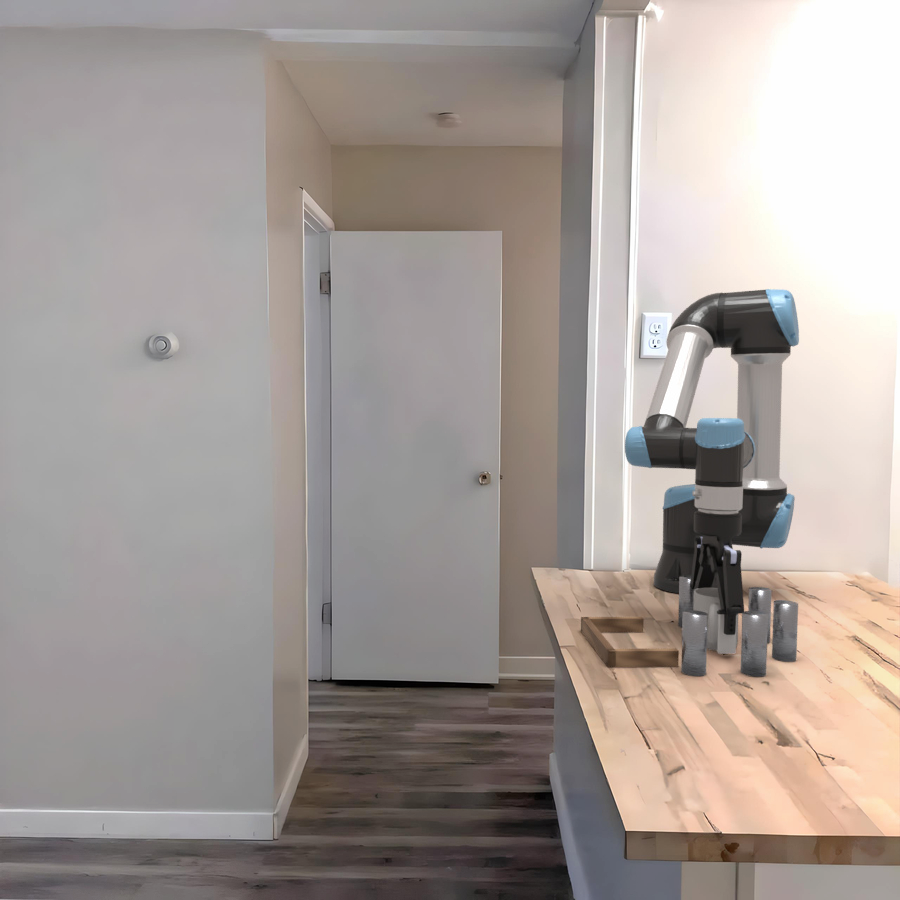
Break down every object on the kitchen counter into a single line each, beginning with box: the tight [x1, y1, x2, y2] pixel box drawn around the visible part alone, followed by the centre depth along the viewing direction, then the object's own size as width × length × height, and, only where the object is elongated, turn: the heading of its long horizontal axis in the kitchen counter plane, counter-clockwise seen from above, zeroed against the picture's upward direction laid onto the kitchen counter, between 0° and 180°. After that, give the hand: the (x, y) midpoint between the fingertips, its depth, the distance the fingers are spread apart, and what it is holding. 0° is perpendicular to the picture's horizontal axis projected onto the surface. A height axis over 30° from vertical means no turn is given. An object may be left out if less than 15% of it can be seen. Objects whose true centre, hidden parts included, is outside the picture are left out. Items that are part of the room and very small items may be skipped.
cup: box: [693, 588, 740, 652], centre depth 126 cm, size 7×10×9 cm
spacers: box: [677, 576, 799, 678], centre depth 126 cm, size 21×28×9 cm
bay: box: [580, 616, 680, 668], centre depth 126 cm, size 11×19×2 cm, turn 3°
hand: (713, 643), depth 127 cm, fingers closed on cup, 9 cm apart
